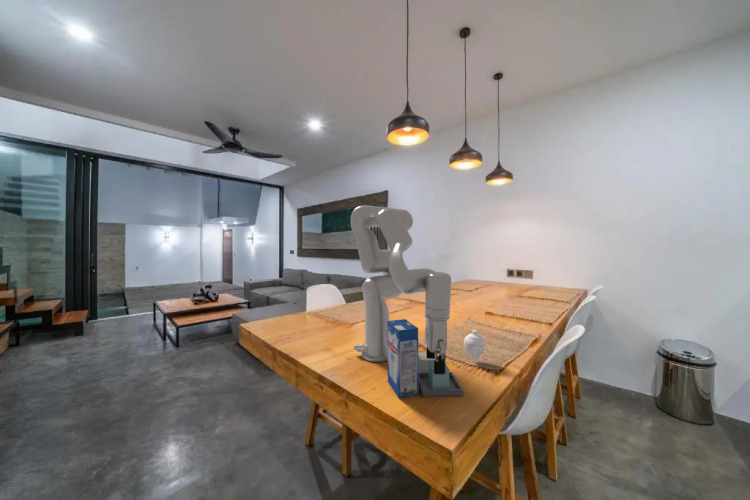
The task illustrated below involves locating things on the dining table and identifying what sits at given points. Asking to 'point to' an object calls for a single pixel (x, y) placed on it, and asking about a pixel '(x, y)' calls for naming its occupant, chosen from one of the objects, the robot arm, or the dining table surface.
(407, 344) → the milk carton
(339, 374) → the dining table surface
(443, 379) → the teal block
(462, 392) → the tray
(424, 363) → the light grey block
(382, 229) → the robot arm
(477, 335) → the spinning top
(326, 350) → the dining table surface
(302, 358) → the dining table surface
